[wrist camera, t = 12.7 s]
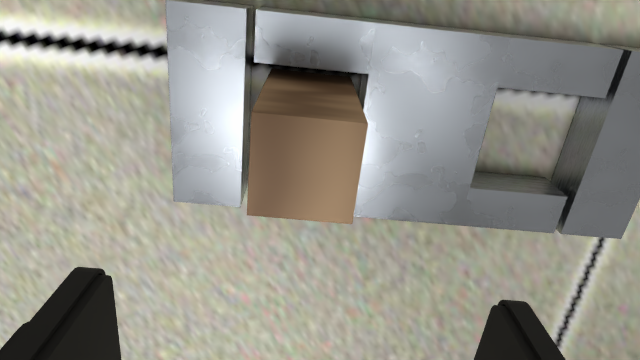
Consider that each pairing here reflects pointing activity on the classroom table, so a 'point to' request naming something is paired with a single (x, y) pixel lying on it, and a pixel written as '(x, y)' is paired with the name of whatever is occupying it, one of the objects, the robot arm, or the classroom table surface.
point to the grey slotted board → (412, 115)
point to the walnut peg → (306, 147)
